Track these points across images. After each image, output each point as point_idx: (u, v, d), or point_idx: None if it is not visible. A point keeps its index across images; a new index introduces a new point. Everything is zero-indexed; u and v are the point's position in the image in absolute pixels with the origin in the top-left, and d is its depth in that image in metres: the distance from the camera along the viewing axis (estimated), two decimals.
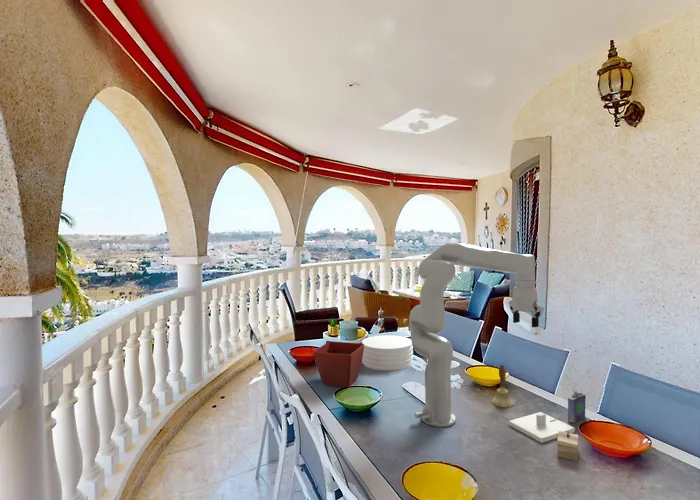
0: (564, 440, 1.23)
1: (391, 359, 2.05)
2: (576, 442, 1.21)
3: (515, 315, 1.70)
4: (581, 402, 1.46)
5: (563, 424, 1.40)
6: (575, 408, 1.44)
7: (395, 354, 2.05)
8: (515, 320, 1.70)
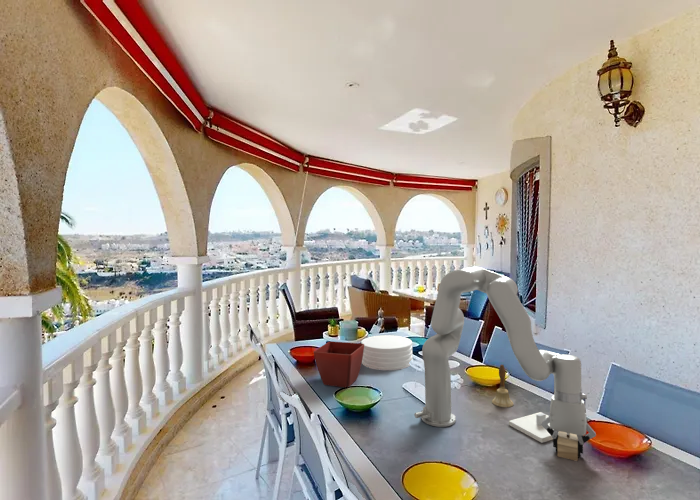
0: (564, 440, 1.23)
1: (390, 359, 2.05)
2: (576, 442, 1.21)
3: None
4: None
5: None
6: None
7: (394, 354, 2.05)
8: None
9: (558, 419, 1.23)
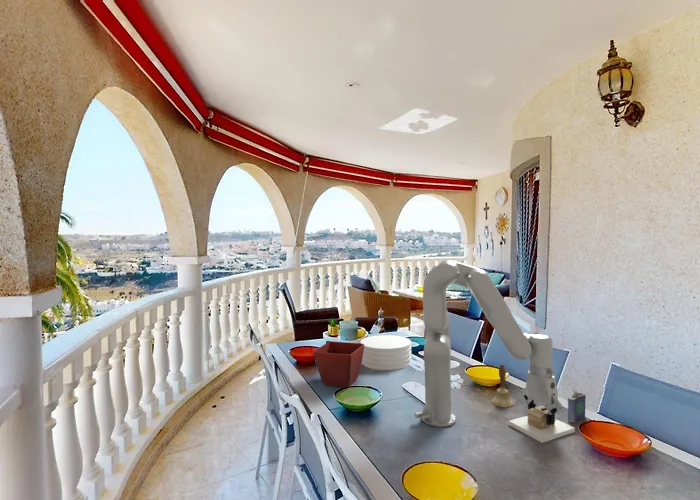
0: (534, 410, 1.40)
1: (389, 359, 2.05)
2: (541, 414, 1.37)
3: None
4: (581, 402, 1.46)
5: (563, 424, 1.40)
6: (575, 408, 1.44)
7: (393, 354, 2.06)
8: None
9: (530, 389, 1.41)
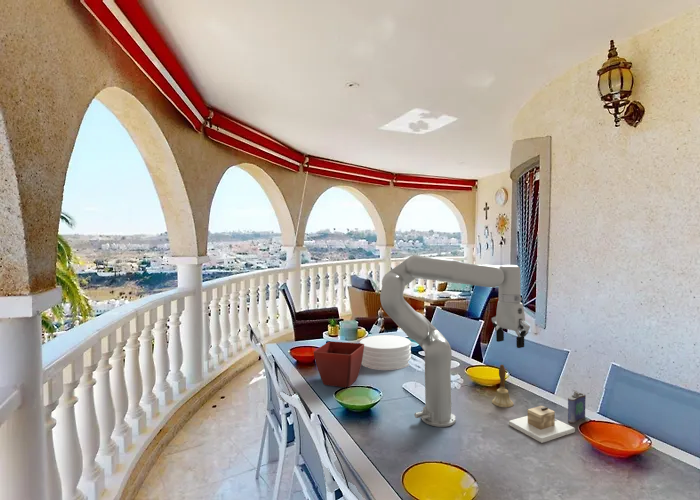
0: (534, 410, 1.40)
1: (389, 359, 2.05)
2: (541, 414, 1.37)
3: None
4: (581, 402, 1.46)
5: (563, 424, 1.40)
6: (575, 408, 1.44)
7: (393, 354, 2.06)
8: None
9: (499, 317, 1.48)
